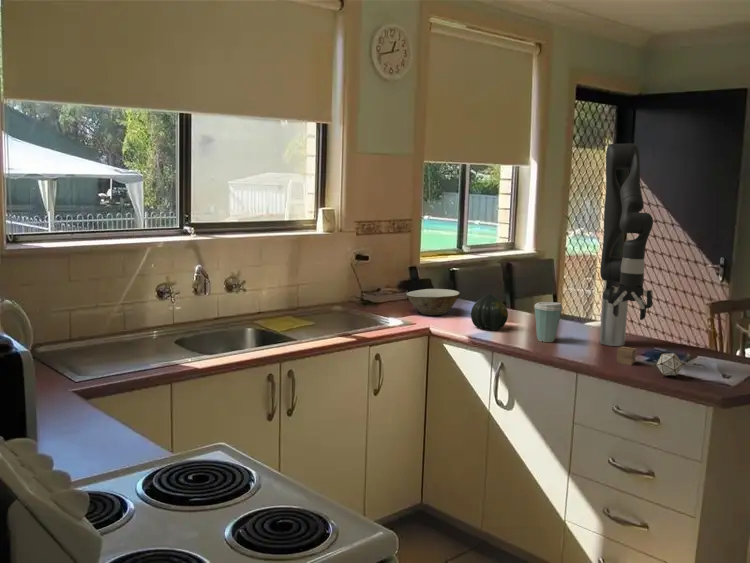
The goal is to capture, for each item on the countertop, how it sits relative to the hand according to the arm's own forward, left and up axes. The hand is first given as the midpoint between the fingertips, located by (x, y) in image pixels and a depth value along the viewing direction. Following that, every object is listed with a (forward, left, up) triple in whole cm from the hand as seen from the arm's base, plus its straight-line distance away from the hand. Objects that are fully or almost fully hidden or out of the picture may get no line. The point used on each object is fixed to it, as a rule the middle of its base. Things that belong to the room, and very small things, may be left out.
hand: (628, 317), depth 254 cm
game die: (+8, +16, -16) cm, 24 cm away
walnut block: (0, 0, -16) cm, 16 cm away
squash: (-18, -61, -16) cm, 66 cm away
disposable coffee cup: (-13, -34, -16) cm, 40 cm away
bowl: (-29, -94, -16) cm, 100 cm away
